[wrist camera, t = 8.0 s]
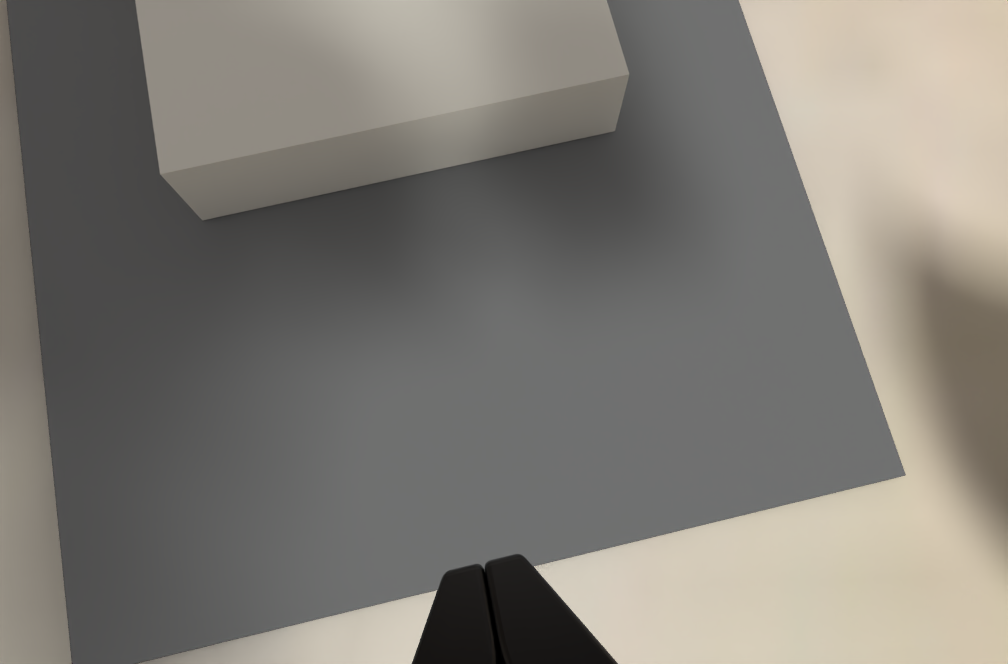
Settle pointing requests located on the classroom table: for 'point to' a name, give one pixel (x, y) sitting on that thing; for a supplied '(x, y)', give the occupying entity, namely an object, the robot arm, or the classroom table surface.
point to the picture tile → (365, 89)
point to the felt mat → (422, 344)
